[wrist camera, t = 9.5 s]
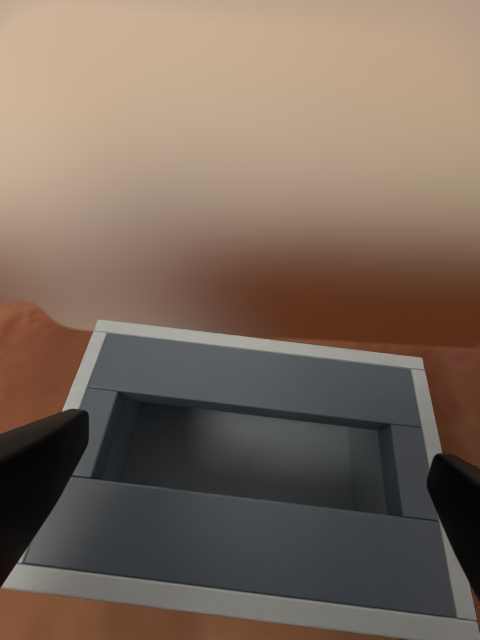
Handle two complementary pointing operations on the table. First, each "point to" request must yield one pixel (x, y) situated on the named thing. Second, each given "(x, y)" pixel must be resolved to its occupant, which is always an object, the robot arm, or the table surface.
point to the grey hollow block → (253, 487)
